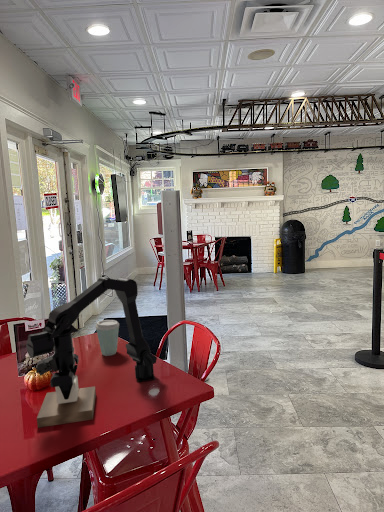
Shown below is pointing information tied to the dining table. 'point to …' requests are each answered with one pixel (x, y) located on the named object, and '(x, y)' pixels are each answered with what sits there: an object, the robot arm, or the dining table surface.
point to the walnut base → (67, 408)
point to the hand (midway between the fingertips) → (67, 394)
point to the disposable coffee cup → (107, 336)
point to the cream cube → (73, 393)
